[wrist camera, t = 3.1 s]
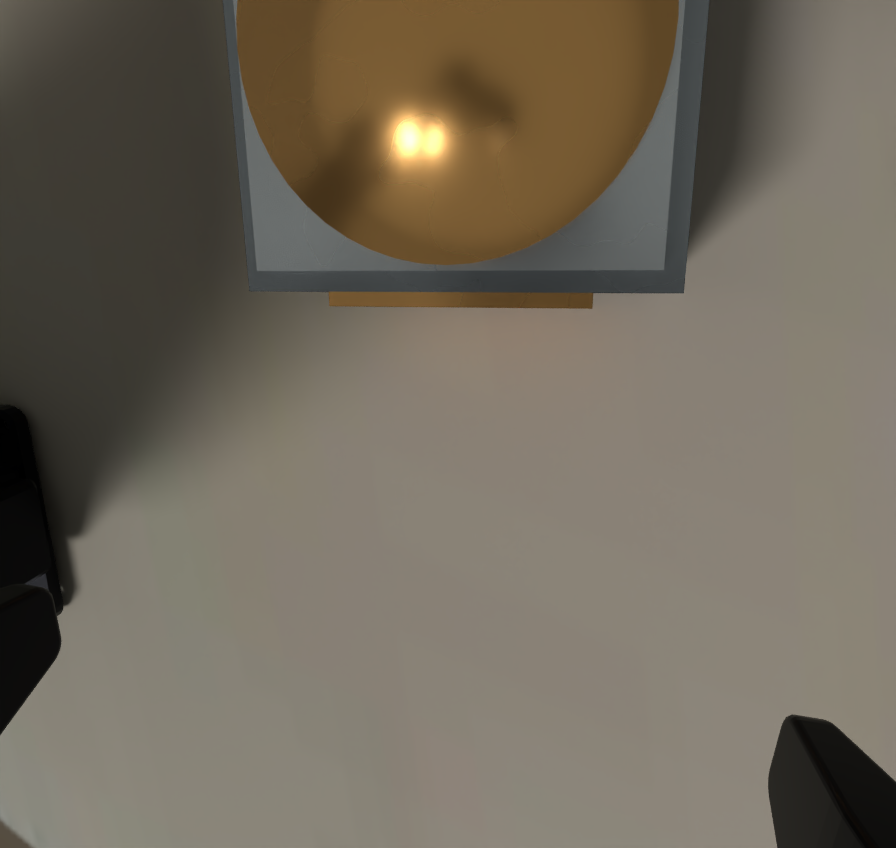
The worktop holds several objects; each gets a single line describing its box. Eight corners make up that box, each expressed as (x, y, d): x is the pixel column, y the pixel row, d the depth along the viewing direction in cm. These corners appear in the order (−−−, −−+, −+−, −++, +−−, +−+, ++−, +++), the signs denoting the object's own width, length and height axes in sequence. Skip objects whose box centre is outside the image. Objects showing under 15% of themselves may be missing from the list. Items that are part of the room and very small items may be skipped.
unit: (304, 296, 15) (235, 310, 12) (275, -131, 13) (180, -246, 10) (663, 298, 14) (687, 315, 10) (702, -186, 11) (746, -342, 8)
